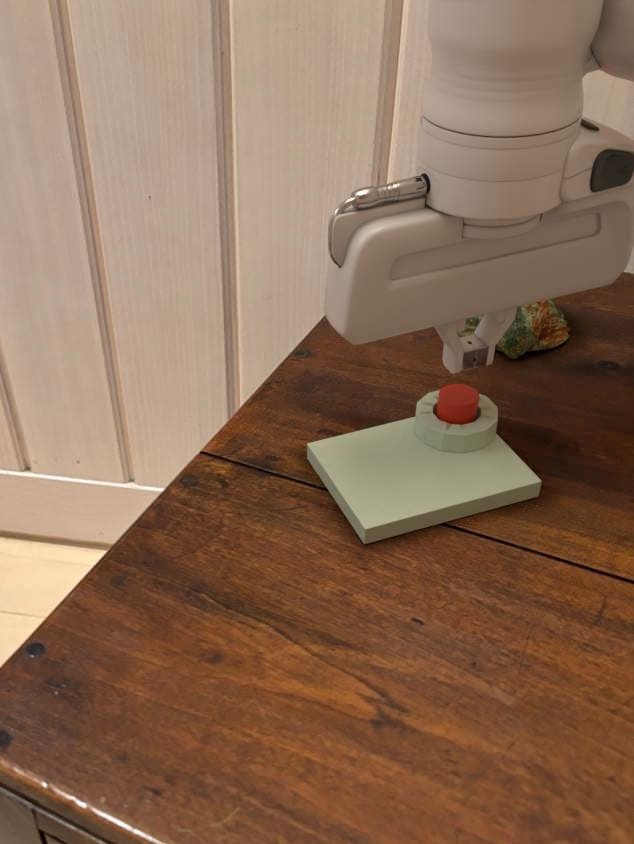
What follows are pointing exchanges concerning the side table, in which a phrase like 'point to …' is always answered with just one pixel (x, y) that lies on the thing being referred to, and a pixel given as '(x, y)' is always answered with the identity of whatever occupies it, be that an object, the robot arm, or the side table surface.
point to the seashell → (528, 329)
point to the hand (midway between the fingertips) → (466, 365)
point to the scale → (421, 471)
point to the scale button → (457, 404)
